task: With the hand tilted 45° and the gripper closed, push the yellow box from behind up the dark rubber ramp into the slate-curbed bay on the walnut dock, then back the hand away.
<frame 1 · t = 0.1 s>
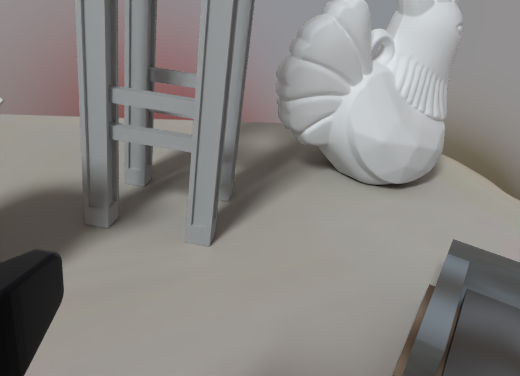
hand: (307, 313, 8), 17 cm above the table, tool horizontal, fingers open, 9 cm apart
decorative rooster: (342, 172, 60), on the table
stool: (166, 208, 45), on the table
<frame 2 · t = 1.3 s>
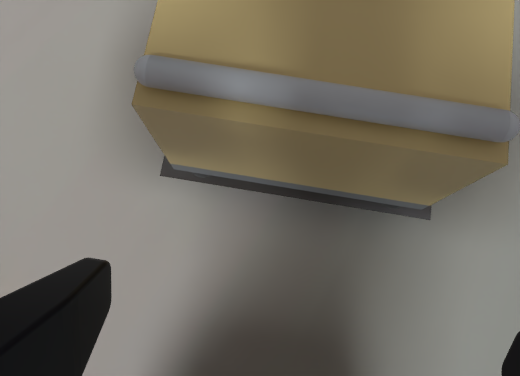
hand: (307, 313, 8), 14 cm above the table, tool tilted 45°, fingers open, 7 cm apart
yellow box: (317, 74, 20), point 5 cm above the table, slide at 0.0 cm
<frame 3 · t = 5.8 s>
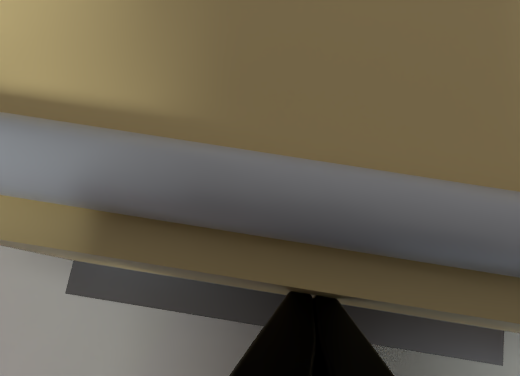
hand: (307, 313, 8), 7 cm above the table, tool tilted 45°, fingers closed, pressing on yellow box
yellow box: (324, 109, 11), point 5 cm above the table, slide at 1.0 cm, touching gripper
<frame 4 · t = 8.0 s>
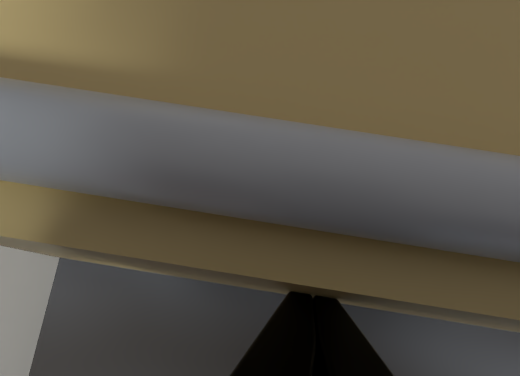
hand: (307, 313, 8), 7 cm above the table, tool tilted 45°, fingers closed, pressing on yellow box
dock: (319, 37, 18), on the table
yellow box: (331, 89, 10), point 6 cm above the table, slide at 10.4 cm, touching gripper
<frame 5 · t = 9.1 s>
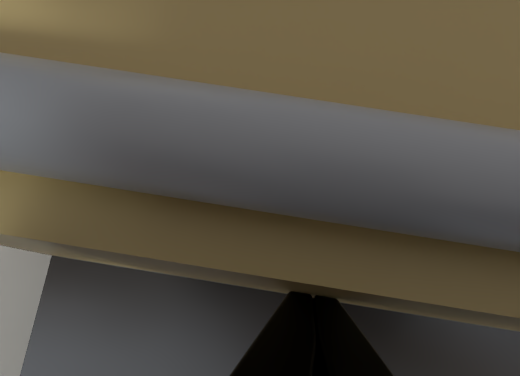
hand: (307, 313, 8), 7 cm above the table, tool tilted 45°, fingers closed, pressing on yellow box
dock: (308, 123, 17), on the table
yellow box: (335, 77, 9), point 7 cm above the table, slide at 14.5 cm, touching gripper
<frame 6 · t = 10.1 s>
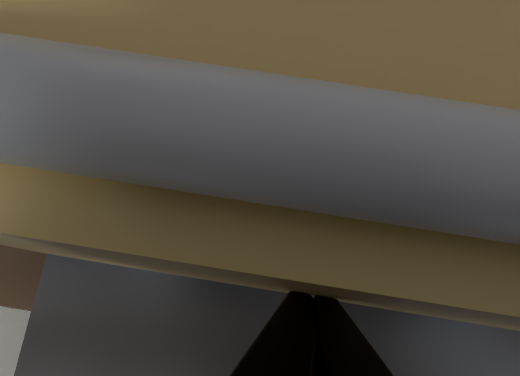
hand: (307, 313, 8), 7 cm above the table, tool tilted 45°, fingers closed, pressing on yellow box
dock: (301, 175, 16), on the table
yellow box: (338, 68, 9), point 7 cm above the table, slide at 16.6 cm, touching gripper
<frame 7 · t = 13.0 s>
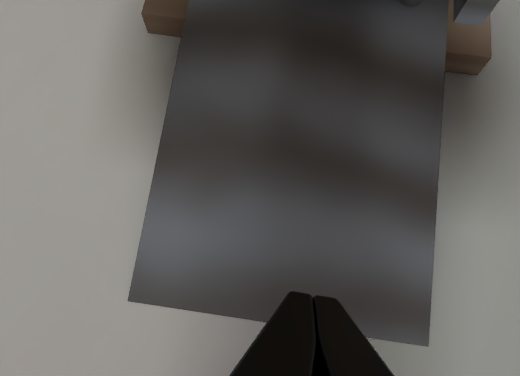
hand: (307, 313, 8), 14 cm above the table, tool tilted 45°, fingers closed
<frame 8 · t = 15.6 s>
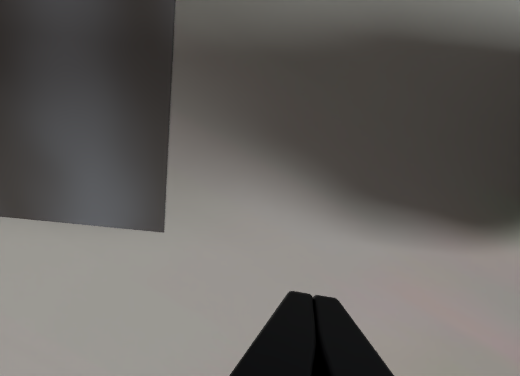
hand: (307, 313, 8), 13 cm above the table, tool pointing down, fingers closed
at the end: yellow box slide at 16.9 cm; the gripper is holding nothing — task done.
